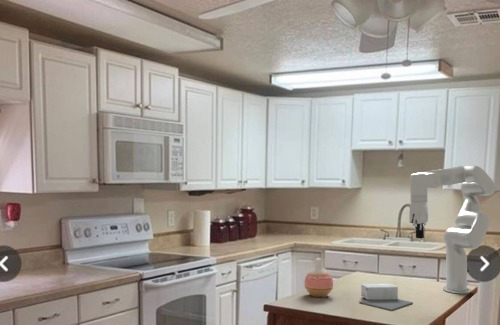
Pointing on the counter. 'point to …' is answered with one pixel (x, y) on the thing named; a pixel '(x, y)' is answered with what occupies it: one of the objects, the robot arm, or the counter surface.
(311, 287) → the vase
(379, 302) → the mat
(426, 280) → the counter surface
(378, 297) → the skincare box
